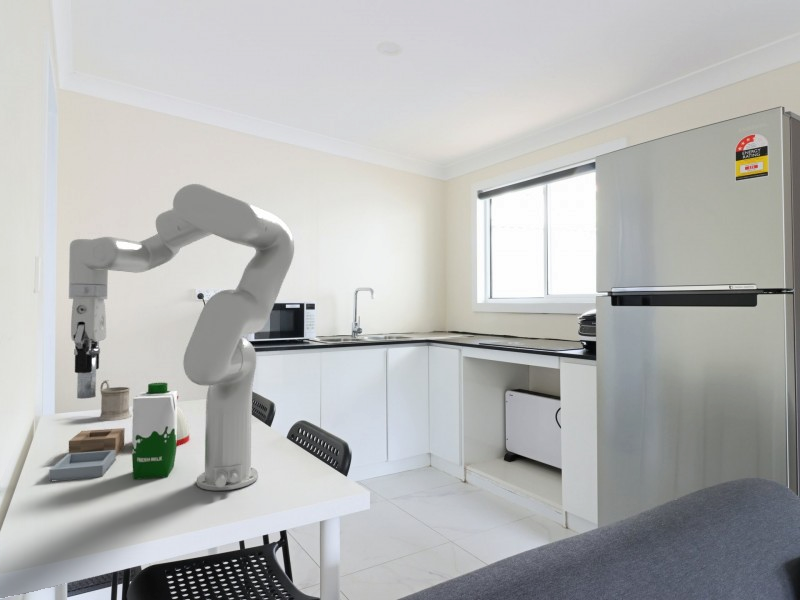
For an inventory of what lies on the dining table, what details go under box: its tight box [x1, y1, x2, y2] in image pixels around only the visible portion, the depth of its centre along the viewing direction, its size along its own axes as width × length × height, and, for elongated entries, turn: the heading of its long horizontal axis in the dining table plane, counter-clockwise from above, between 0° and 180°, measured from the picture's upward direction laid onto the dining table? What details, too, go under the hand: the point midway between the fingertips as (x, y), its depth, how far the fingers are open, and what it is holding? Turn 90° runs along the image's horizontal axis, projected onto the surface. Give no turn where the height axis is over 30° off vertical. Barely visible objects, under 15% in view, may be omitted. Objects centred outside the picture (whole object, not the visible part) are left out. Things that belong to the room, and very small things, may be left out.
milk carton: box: [131, 382, 178, 481], centre depth 108 cm, size 9×9×20 cm
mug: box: [97, 379, 133, 422], centre depth 163 cm, size 14×10×12 cm
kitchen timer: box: [177, 395, 190, 447], centre depth 133 cm, size 14×14×15 cm
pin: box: [73, 347, 101, 400], centre depth 110 cm, size 5×5×11 cm
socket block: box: [68, 427, 126, 457], centre depth 122 cm, size 10×10×5 cm
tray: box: [48, 450, 117, 482], centre depth 109 cm, size 12×10×2 cm
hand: (87, 370), depth 110 cm, fingers closed on pin, 4 cm apart
